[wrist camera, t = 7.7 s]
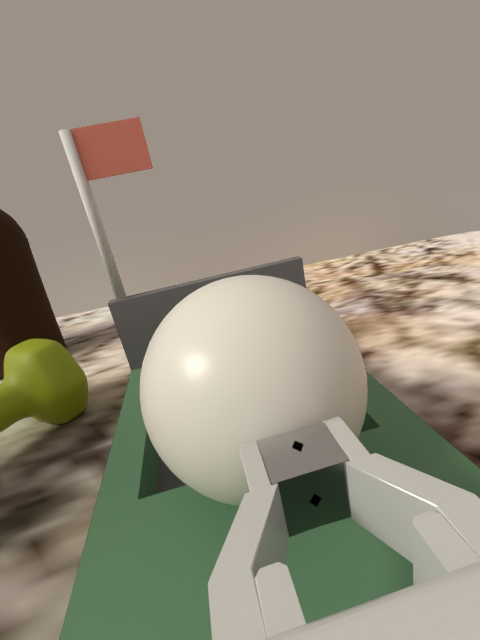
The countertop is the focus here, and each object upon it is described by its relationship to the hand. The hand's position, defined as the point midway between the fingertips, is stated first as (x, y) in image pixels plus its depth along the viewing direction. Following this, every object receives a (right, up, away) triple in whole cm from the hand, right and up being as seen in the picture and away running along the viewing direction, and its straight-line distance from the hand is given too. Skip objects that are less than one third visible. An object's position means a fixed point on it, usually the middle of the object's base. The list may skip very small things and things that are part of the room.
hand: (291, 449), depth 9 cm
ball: (-1, +1, +4) cm, 5 cm away
